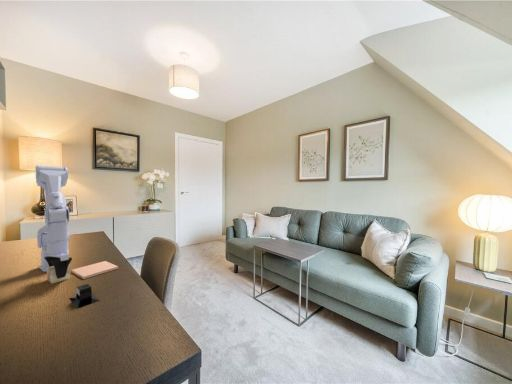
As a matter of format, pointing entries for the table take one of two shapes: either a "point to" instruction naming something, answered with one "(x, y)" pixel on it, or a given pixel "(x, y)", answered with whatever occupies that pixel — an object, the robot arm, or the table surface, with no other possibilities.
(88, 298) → the black block on base
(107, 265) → the salmon pink board
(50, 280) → the birch cube
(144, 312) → the table surface
